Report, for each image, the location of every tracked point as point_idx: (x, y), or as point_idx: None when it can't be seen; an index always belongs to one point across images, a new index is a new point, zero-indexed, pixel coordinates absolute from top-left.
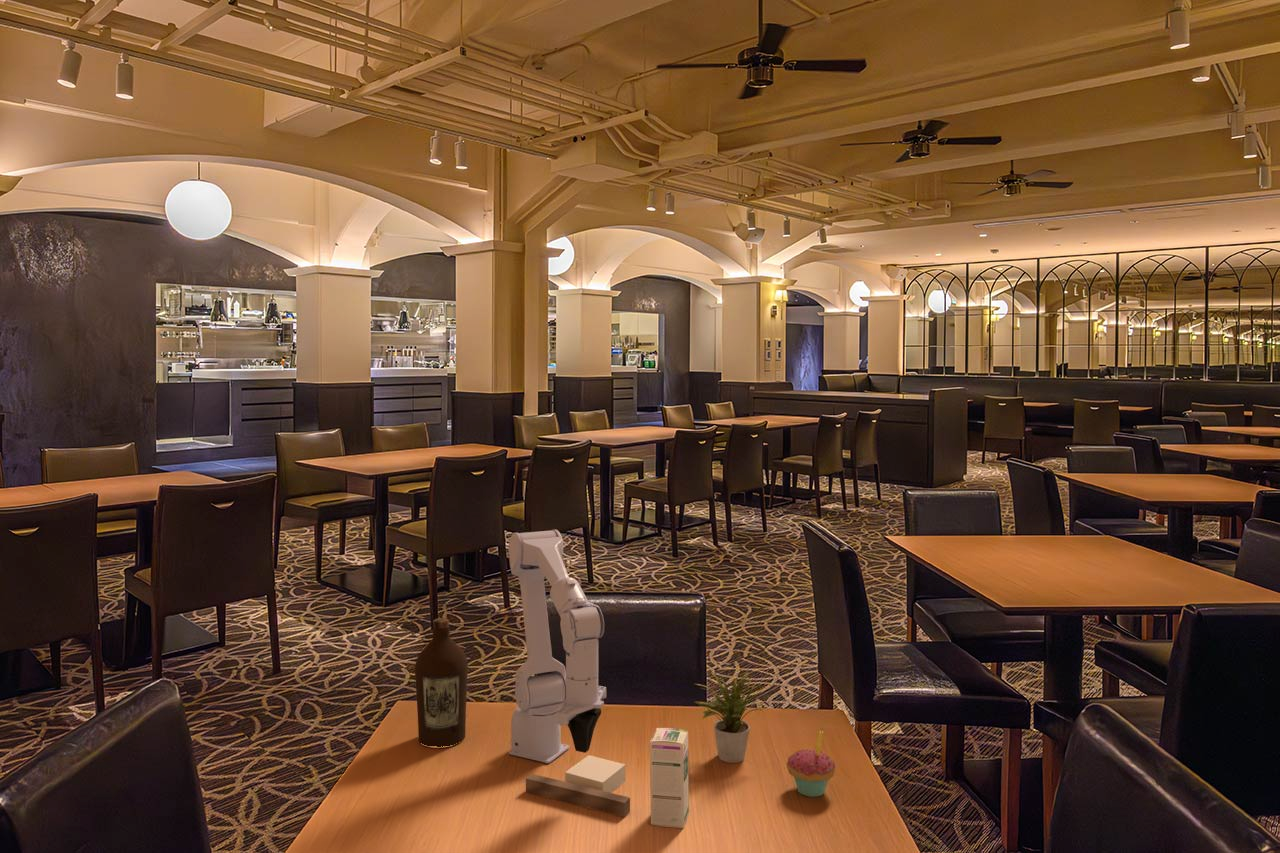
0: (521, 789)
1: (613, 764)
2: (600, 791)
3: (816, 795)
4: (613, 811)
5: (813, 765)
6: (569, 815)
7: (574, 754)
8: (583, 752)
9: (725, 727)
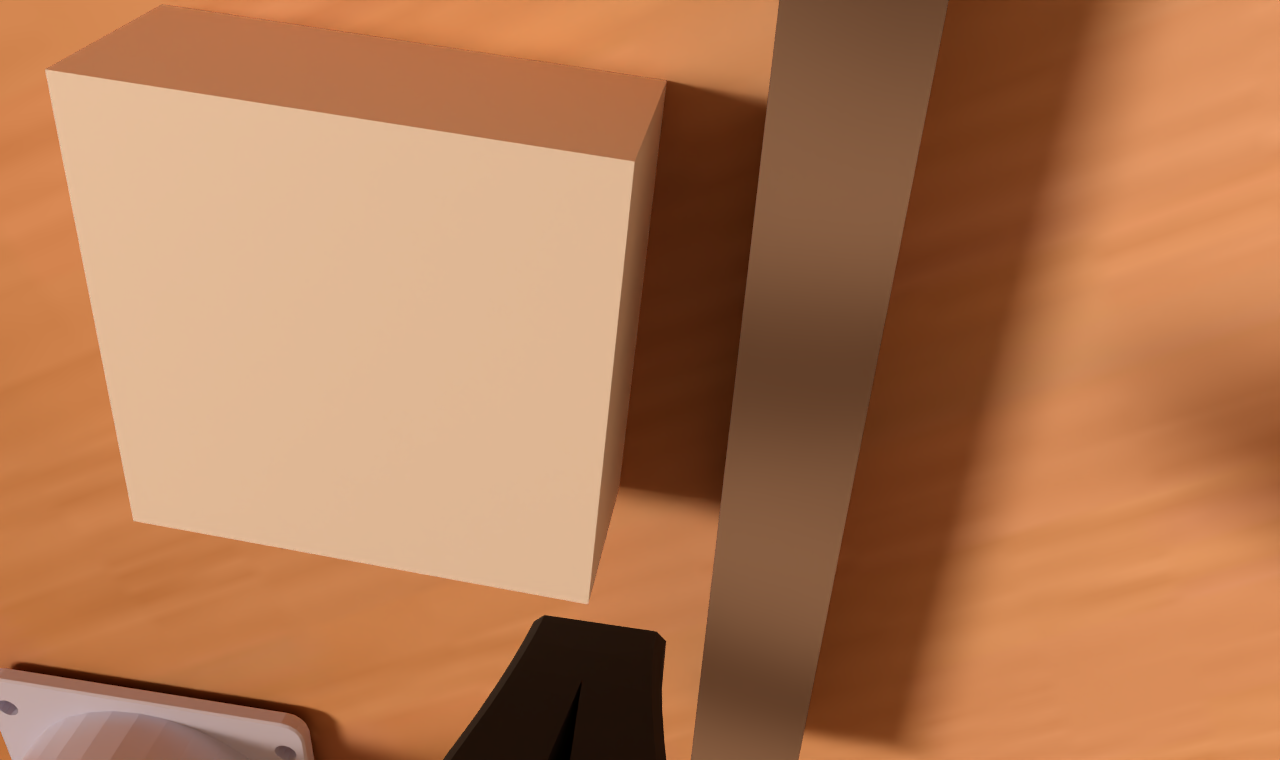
0: None
1: (142, 212)
2: (789, 118)
3: None
4: None
5: None
6: (1103, 285)
7: (47, 603)
8: (663, 656)
9: None
